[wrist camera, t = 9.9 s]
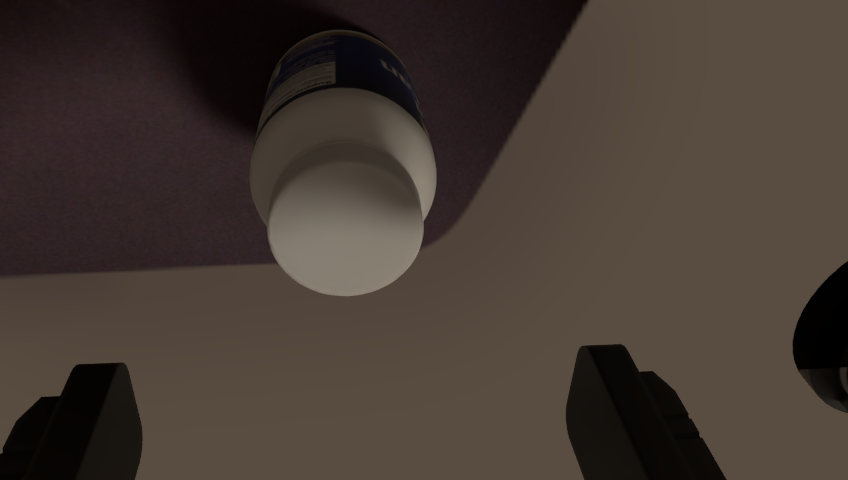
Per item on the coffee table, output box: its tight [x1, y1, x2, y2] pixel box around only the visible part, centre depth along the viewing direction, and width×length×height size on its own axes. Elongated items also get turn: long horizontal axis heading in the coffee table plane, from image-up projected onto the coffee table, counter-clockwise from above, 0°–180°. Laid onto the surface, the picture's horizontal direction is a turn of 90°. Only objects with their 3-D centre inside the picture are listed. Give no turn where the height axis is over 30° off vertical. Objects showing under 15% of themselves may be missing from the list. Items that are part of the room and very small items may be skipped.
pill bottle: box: [250, 30, 436, 296], centre depth 22 cm, size 5×5×10 cm
